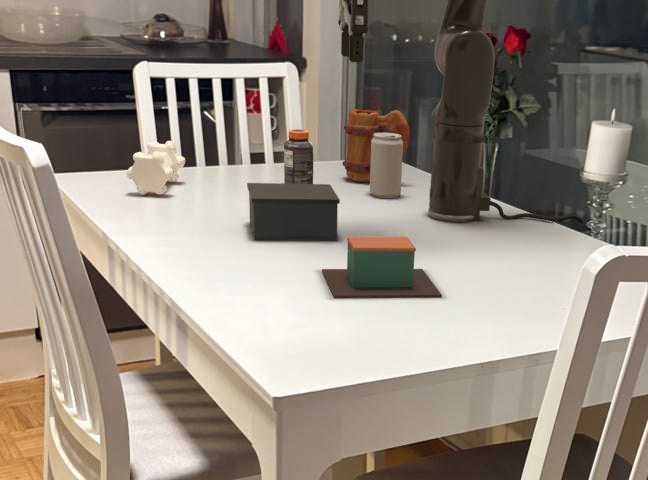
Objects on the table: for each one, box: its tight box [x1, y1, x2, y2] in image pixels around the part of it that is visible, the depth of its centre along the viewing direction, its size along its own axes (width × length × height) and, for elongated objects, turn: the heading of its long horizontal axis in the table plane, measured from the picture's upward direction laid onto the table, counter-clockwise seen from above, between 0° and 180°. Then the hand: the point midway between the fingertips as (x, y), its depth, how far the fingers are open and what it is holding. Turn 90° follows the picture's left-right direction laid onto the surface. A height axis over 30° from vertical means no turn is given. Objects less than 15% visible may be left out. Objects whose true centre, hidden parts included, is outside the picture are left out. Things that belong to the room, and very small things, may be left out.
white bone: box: [126, 140, 186, 196], centre depth 190 cm, size 15×9×8 cm, turn 1°
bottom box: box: [246, 182, 341, 241], centre depth 168 cm, size 15×12×7 cm
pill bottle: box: [283, 128, 314, 184], centre depth 198 cm, size 6×6×11 cm
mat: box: [321, 268, 443, 299], centre depth 147 cm, size 16×13×1 cm
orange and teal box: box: [346, 235, 417, 288], centre depth 145 cm, size 9×6×6 cm
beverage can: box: [369, 132, 404, 199], centre depth 197 cm, size 6×6×12 cm
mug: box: [342, 108, 411, 183], centre depth 207 cm, size 15×8×15 cm, turn 72°
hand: (351, 59), depth 160 cm, fingers open, 8 cm apart
